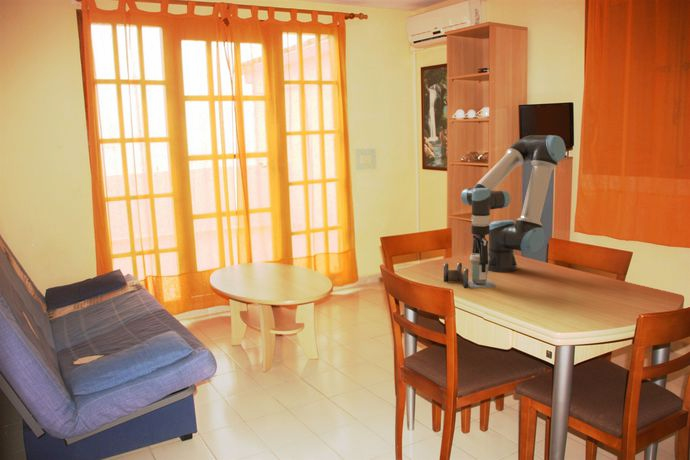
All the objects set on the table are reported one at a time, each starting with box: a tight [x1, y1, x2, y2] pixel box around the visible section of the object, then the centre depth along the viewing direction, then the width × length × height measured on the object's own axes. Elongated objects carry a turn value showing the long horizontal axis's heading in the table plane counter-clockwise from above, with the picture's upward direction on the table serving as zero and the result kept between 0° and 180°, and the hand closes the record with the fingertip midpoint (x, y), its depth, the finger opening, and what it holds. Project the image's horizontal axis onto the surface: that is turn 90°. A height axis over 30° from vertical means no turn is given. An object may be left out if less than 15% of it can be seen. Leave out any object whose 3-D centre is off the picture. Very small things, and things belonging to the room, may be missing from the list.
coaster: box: [468, 278, 497, 289], centre depth 257 cm, size 11×11×1 cm
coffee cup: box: [469, 253, 490, 284], centre depth 256 cm, size 9×9×12 cm
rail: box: [443, 262, 469, 289], centre depth 257 cm, size 8×13×8 cm, turn 3°
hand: (479, 276), depth 256 cm, fingers closed on coffee cup, 8 cm apart
